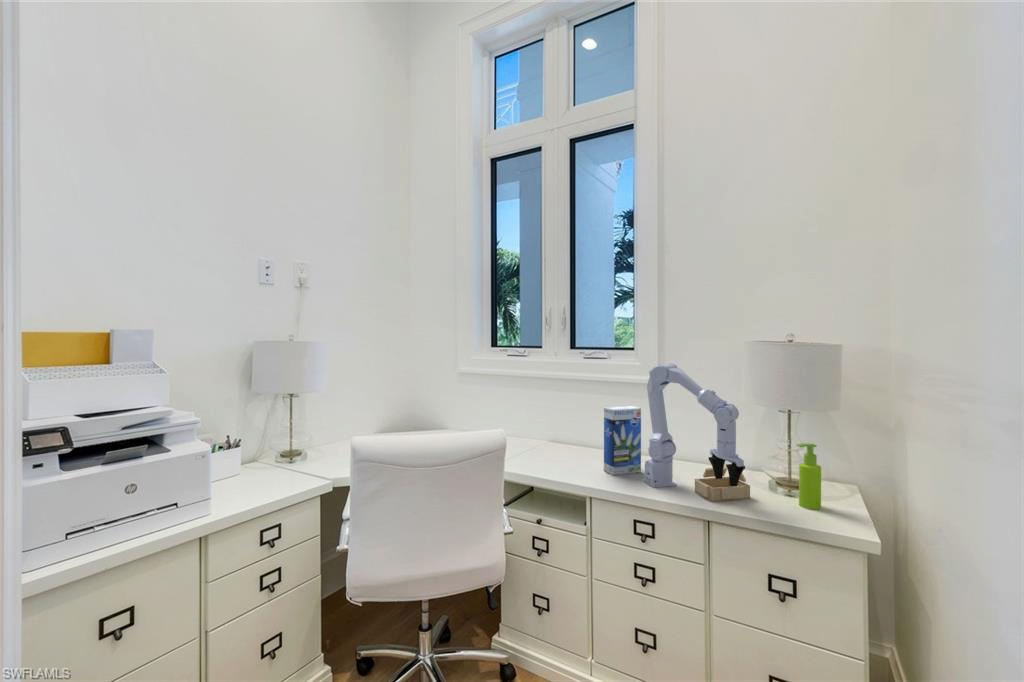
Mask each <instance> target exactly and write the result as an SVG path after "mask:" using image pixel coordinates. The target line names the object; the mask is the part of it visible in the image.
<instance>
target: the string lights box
mask: <svg viewBox="0 0 1024 682" xmlns="http://www.w3.org/2000/svg"><path fill="white" fill-rule="evenodd" d="M603 471H604V472H606V473H608V474H610V475H612V476H617V475H618V474H619V475H627V473H629V474H636V472H639V473H642V408H641V407H639V406H634V405H627V406H625V405H621V406H618V405H617V406H608V407H607V406H604V407H603Z"/></svg>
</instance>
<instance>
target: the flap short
mask: <svg viewBox="0 0 1024 682" xmlns="http://www.w3.org/2000/svg"><path fill="white" fill-rule="evenodd" d="M739 481H741V482H744V483H747V479H746V477H745V475H744V474H743V472H742V473H741V475H740V478H739Z"/></svg>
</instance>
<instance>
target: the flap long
mask: <svg viewBox="0 0 1024 682" xmlns="http://www.w3.org/2000/svg"><path fill="white" fill-rule="evenodd" d="M727 472H728V469H727V467H726V466H724V468H723V477H725V475H726V473H727ZM702 476H703V478H715V474H714V470H713V467H709V468H705V470H704V473H703V474H702Z"/></svg>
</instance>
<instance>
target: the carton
mask: <svg viewBox="0 0 1024 682" xmlns="http://www.w3.org/2000/svg"><path fill="white" fill-rule="evenodd" d="M694 493H696V494H698V495H699V494H700V495H699V496H701V497H702V498H705V499H706V500H709V502H711V503H719V502H728V501H730V502H731V501H742V500H743V501H744V500H750V499H751V485H749V484H748V483H747V482H743V481H741V480H739V481H738V485H737V486H730V481H729V476H723V477H722V479H716V478H715V477H703V478H694Z"/></svg>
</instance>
